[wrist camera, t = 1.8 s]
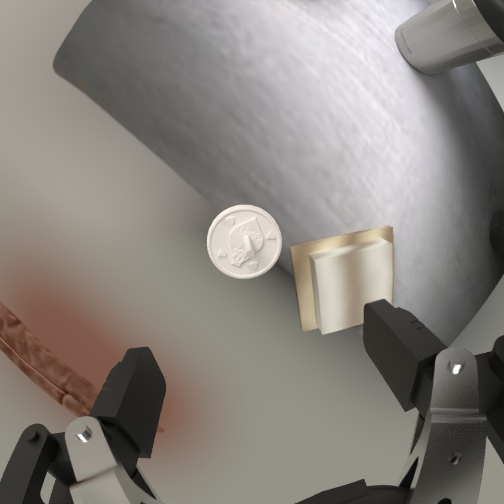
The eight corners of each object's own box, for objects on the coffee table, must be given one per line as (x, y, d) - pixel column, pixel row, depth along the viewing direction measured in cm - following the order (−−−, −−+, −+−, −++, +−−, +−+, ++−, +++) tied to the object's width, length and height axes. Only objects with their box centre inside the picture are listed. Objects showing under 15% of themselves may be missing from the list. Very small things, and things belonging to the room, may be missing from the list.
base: (388, 225, 33) (404, 232, 29) (388, 303, 37) (402, 316, 33) (288, 246, 33) (296, 256, 29) (300, 327, 37) (307, 344, 33)
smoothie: (277, 207, 32) (308, 235, 18) (256, 256, 33) (270, 314, 20) (226, 187, 31) (219, 200, 17) (206, 237, 32) (188, 285, 19)
